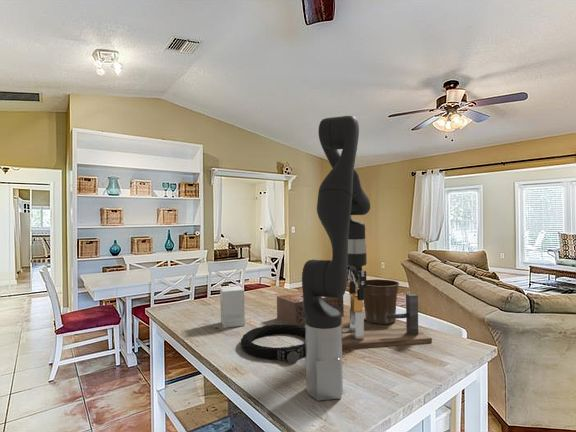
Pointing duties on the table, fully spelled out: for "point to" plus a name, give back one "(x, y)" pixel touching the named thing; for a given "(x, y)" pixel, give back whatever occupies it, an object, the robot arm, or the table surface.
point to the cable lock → (269, 352)
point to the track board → (392, 331)
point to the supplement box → (232, 306)
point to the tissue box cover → (300, 308)
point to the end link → (356, 318)
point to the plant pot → (380, 300)
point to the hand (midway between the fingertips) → (356, 297)
